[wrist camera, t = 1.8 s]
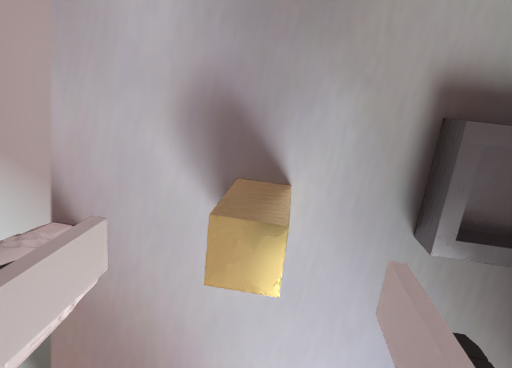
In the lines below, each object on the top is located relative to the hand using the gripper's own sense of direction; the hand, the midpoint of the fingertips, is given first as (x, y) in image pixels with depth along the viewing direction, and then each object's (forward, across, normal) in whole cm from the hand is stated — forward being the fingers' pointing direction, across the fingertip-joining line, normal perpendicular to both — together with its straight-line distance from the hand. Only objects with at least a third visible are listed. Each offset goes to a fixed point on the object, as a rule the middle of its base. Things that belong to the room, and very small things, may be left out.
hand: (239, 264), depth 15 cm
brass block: (+10, 0, 0) cm, 10 cm away
